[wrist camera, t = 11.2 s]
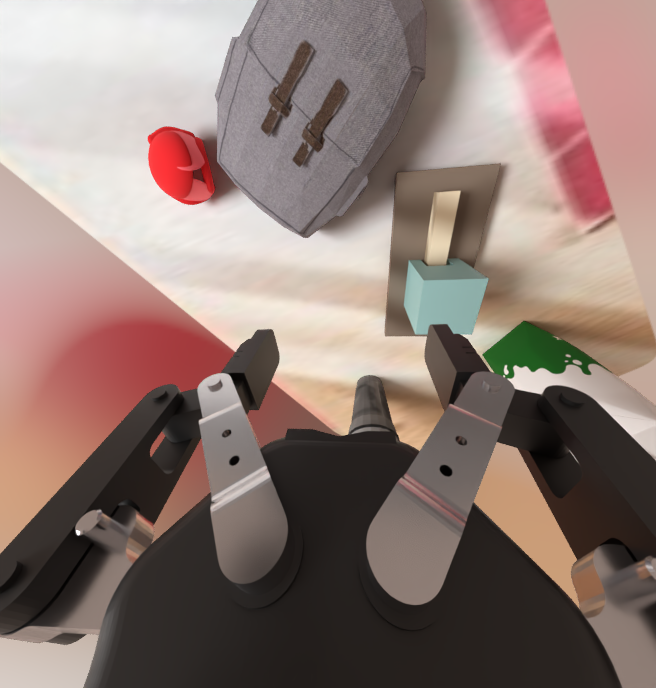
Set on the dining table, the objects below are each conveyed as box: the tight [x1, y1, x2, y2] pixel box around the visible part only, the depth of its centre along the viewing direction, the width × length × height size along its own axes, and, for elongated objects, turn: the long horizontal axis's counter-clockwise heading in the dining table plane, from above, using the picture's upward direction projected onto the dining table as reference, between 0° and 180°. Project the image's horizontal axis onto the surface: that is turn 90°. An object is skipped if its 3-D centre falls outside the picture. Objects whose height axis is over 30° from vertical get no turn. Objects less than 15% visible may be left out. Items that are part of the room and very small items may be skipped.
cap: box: [148, 127, 215, 205], centre depth 25 cm, size 8×6×6 cm
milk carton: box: [483, 321, 656, 462], centre depth 27 cm, size 9×9×20 cm
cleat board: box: [385, 164, 501, 336], centre depth 29 cm, size 20×10×3 cm, turn 4°
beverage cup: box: [348, 375, 399, 441], centre depth 34 cm, size 7×7×20 cm
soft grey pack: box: [215, 0, 426, 238], centre depth 21 cm, size 15×8×20 cm
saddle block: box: [404, 258, 489, 334], centre depth 27 cm, size 6×6×8 cm
